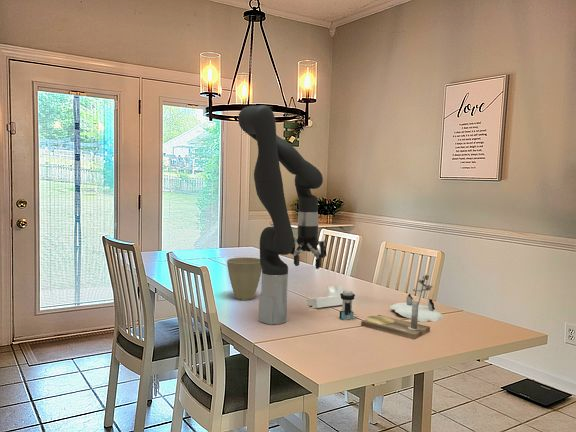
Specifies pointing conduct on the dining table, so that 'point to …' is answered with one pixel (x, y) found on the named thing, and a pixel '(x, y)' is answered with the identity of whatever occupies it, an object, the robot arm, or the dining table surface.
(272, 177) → the robot arm
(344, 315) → the push button
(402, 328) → the gauge board
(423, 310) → the figurine
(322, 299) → the bracket
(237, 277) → the plant pot
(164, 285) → the dining table surface
